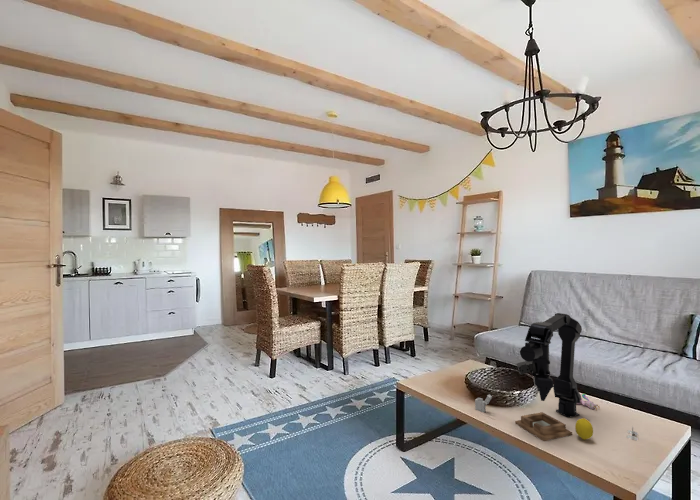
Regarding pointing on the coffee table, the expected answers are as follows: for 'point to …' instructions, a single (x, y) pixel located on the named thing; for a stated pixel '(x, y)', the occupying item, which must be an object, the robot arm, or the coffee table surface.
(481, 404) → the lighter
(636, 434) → the car cutout
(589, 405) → the unicorn toy
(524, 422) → the tray
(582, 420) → the lemon
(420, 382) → the coffee table surface
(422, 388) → the coffee table surface
